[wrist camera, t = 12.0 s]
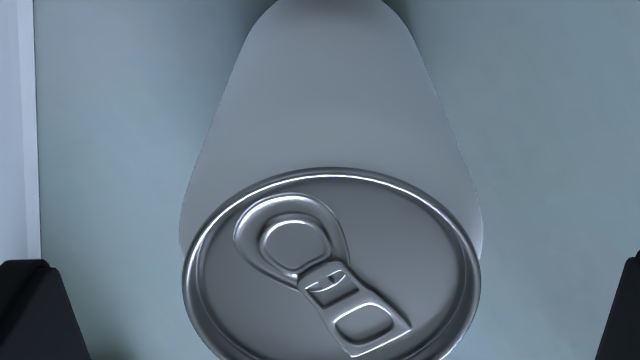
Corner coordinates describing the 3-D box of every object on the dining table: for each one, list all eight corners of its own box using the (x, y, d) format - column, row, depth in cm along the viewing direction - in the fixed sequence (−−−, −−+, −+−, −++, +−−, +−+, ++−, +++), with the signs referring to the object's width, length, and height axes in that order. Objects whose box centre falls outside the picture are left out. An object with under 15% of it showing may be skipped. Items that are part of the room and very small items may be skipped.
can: (353, -60, 19) (385, 69, 9) (450, 92, 22) (563, 330, 11) (203, 51, 21) (82, 266, 11) (309, 178, 24) (295, 448, 13)
